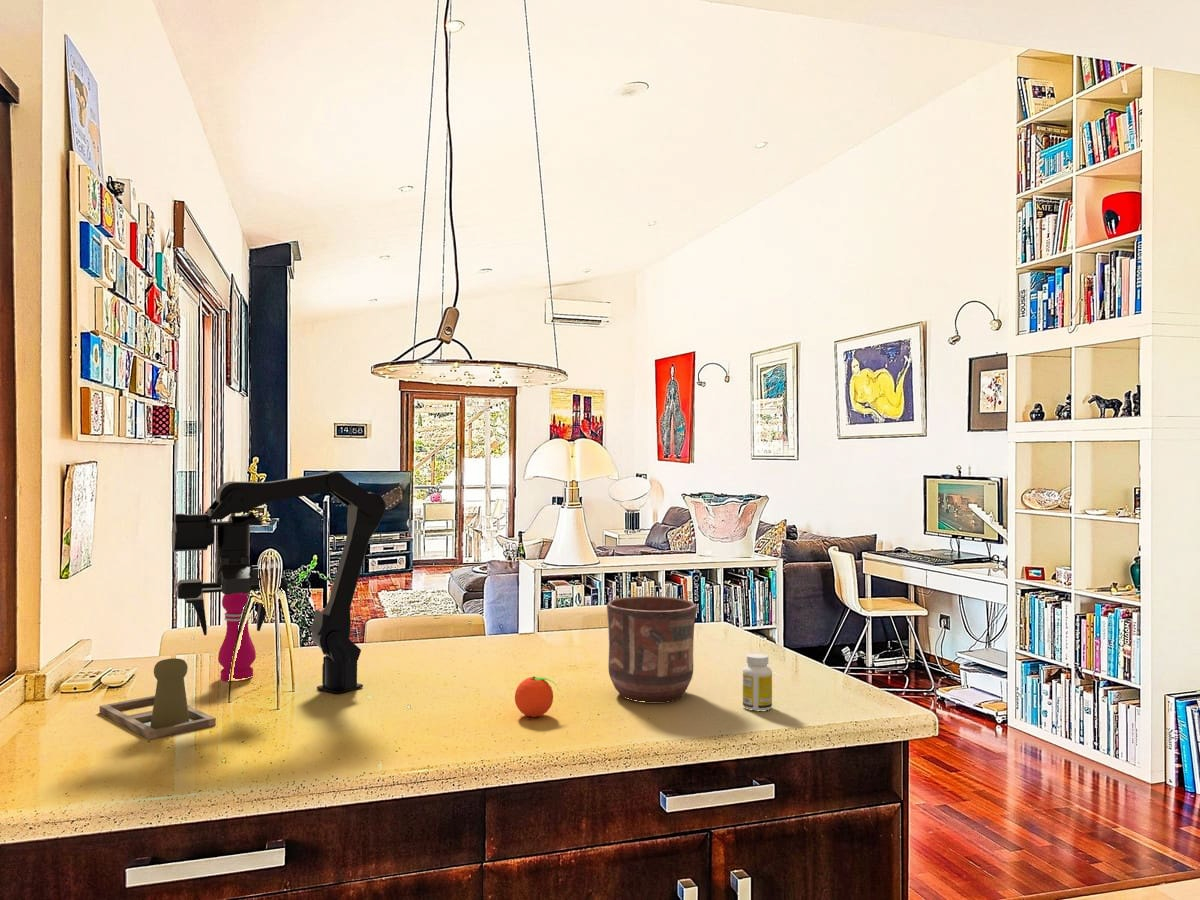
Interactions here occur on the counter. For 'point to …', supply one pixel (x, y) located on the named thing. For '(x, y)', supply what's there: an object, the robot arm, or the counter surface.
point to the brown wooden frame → (143, 720)
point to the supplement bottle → (757, 683)
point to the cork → (170, 694)
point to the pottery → (651, 647)
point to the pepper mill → (247, 650)
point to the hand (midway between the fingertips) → (232, 632)
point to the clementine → (534, 696)
